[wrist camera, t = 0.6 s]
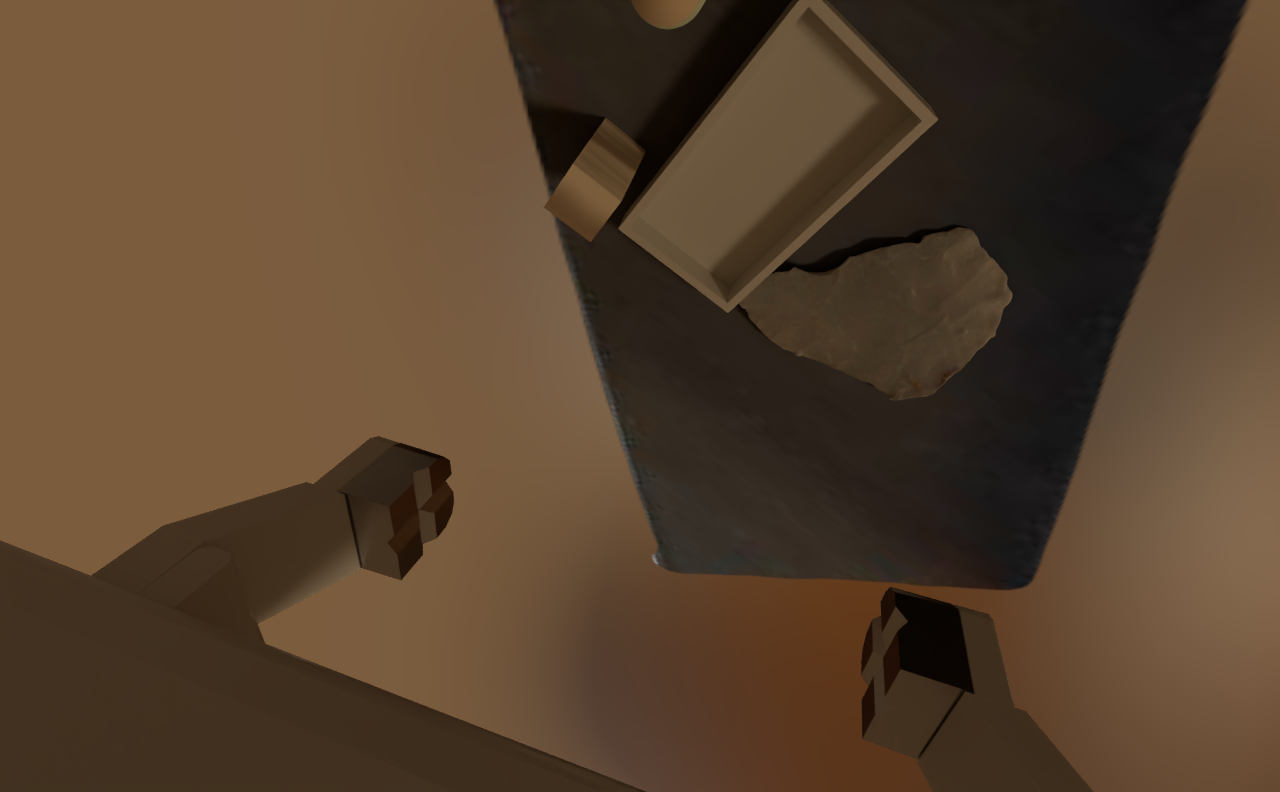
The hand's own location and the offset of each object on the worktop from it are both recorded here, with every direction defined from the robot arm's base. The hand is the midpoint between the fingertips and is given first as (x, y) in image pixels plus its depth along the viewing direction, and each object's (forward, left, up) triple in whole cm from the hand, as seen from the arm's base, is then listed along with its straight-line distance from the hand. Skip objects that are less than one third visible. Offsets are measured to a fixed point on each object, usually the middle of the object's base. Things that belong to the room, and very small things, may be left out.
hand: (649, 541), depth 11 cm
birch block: (+16, -3, -48) cm, 51 cm away
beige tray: (+8, +8, -48) cm, 49 cm away
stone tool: (+12, +26, -49) cm, 56 cm away
